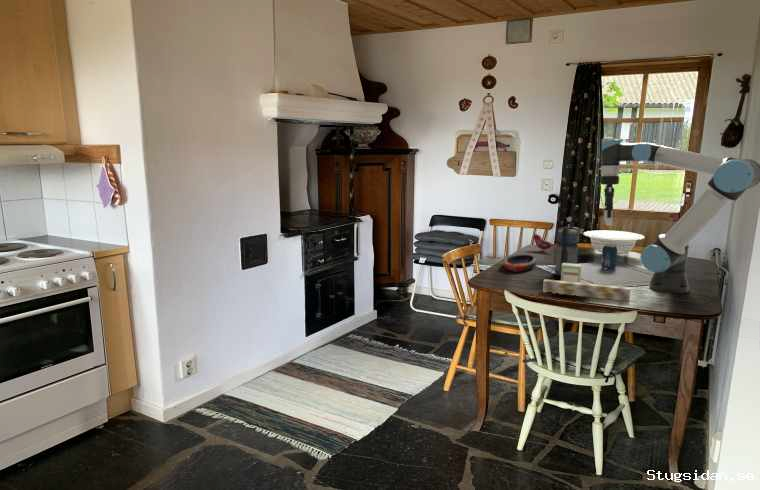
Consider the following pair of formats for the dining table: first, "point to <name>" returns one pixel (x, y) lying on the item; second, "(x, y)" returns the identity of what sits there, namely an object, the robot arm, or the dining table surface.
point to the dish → (519, 262)
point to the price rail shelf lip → (587, 290)
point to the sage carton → (571, 272)
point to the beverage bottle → (567, 247)
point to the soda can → (609, 256)
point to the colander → (613, 239)
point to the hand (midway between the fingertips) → (607, 223)
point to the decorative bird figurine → (542, 243)
